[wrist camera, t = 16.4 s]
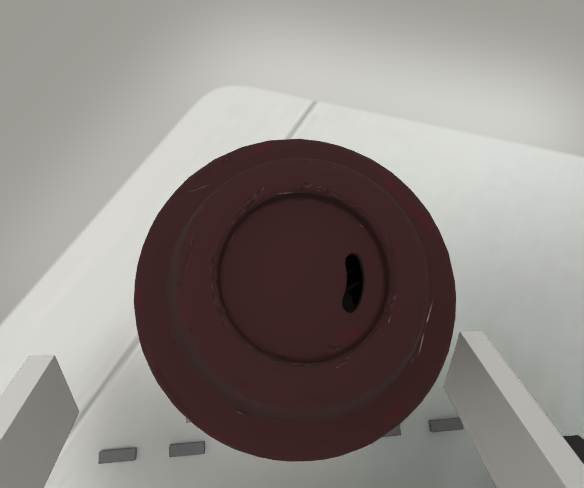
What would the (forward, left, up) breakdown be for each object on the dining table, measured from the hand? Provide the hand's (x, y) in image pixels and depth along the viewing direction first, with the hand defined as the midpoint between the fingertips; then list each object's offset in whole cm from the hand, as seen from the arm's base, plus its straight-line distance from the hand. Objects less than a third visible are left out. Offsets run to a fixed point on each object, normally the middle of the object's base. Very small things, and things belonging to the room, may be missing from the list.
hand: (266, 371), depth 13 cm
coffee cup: (-1, -3, -12) cm, 12 cm away
